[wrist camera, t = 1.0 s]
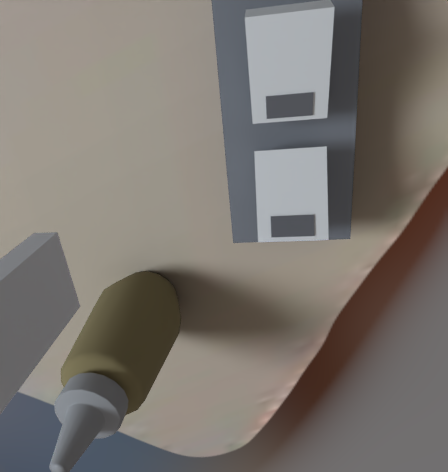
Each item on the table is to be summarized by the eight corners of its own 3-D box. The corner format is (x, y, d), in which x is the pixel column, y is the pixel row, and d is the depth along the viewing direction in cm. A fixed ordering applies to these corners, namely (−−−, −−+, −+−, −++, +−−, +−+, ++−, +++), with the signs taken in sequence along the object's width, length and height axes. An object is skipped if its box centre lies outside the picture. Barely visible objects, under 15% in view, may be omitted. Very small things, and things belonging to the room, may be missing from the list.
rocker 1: (245, 9, 21) (244, 18, 20) (329, -1, 20) (334, 7, 19) (253, 111, 25) (252, 124, 24) (323, 105, 24) (327, 118, 23)
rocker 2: (255, 153, 26) (254, 151, 24) (323, 149, 26) (326, 146, 24) (259, 238, 27) (258, 242, 25) (325, 236, 26) (328, 240, 24)
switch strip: (201, -215, 22) (182, -290, 17) (360, -248, 21) (385, -338, 16) (237, 223, 34) (231, 249, 29) (341, 219, 32) (353, 245, 28)
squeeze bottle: (186, 261, 36) (116, 426, 20) (191, 329, 39) (134, 518, 23) (105, 258, 37) (-26, 413, 20) (116, 325, 40) (11, 504, 24)
